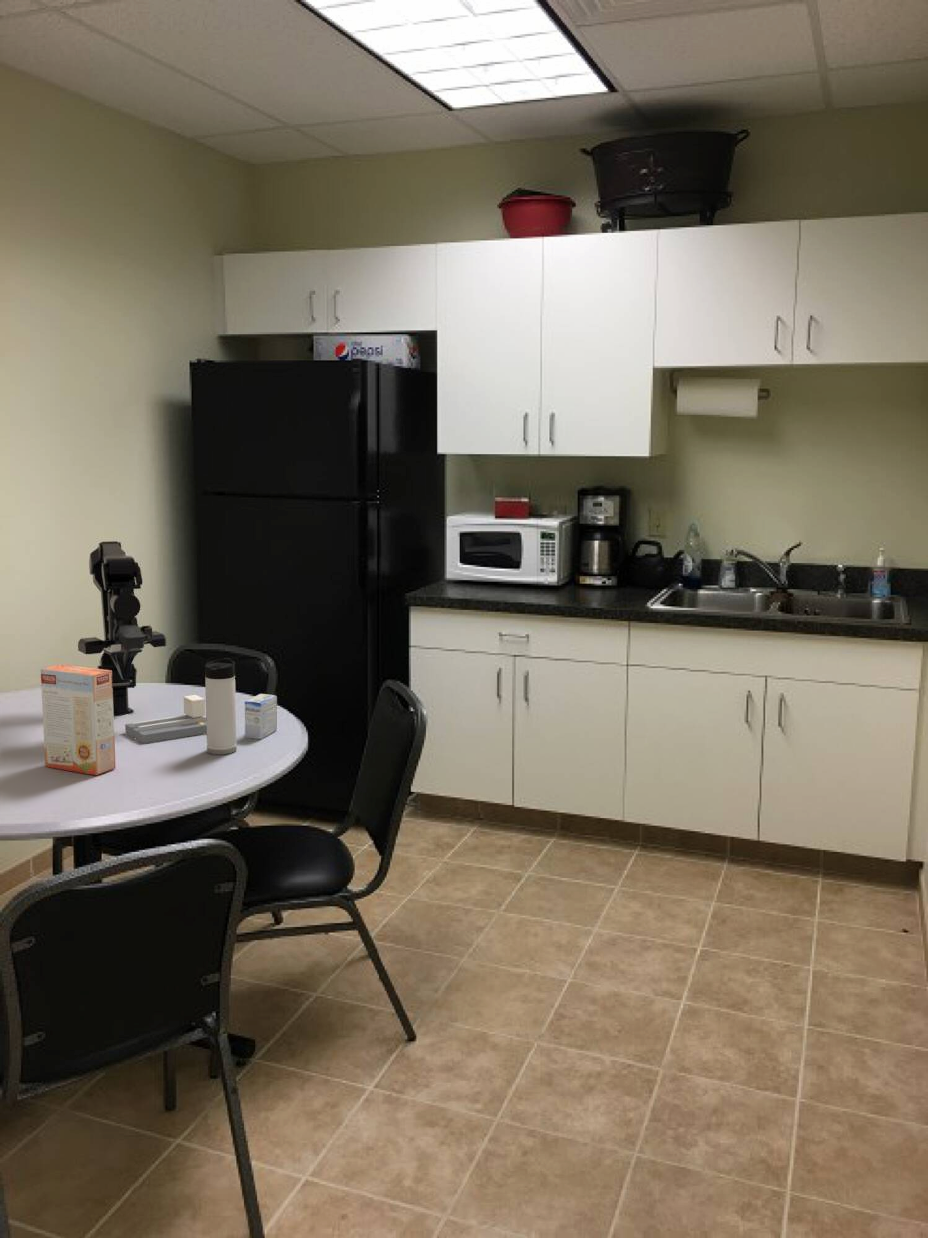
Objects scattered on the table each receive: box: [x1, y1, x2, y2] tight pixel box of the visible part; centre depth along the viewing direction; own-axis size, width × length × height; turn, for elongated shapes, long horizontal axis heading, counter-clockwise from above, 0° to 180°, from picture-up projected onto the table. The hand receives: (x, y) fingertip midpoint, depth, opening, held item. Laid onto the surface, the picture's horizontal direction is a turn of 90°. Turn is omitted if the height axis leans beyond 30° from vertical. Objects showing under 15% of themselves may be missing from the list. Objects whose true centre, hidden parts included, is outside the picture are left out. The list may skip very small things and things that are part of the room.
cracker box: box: [40, 663, 116, 776], centre depth 218 cm, size 14×6×21 cm, turn 65°
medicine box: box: [244, 693, 278, 740], centre depth 246 cm, size 8×4×9 cm, turn 164°
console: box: [124, 714, 207, 745], centre depth 247 cm, size 11×17×3 cm, turn 128°
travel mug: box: [204, 657, 237, 756], centre depth 232 cm, size 6×7×20 cm
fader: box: [183, 694, 206, 719], centre depth 250 cm, size 5×3×5 cm, turn 38°
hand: (124, 679), depth 247 cm, fingers closed
